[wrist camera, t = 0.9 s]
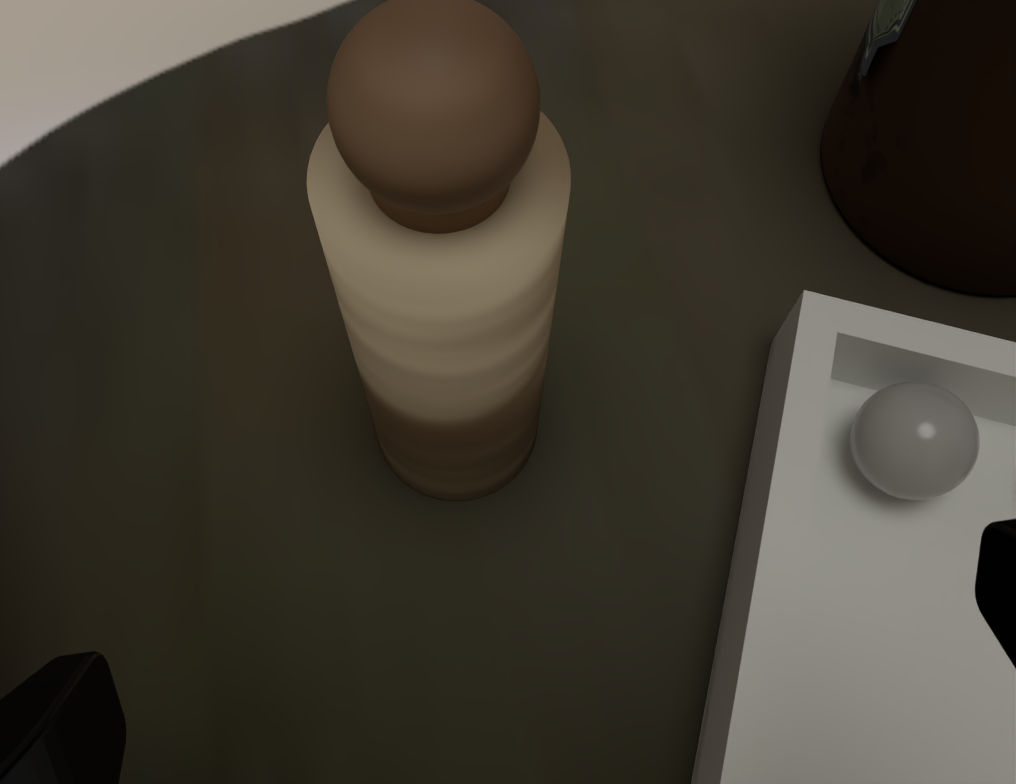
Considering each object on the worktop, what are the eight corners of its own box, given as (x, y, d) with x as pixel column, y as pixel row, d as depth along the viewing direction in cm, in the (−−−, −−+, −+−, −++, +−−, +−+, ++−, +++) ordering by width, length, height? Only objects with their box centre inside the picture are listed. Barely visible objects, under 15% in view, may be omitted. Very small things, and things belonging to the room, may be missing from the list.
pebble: (941, 528, 24) (1000, 492, 21) (826, 497, 24) (870, 458, 21) (949, 425, 25) (1007, 379, 22) (840, 397, 25) (884, 348, 22)
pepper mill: (512, 519, 24) (544, 189, 11) (355, 475, 25) (210, 108, 12) (554, 375, 26) (623, -52, 13) (406, 337, 26) (331, -116, 13)
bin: (1218, 1033, 20) (1335, 1069, 17) (676, 864, 21) (704, 872, 18) (1197, 451, 25) (1282, 408, 23) (770, 343, 26) (803, 290, 24)
